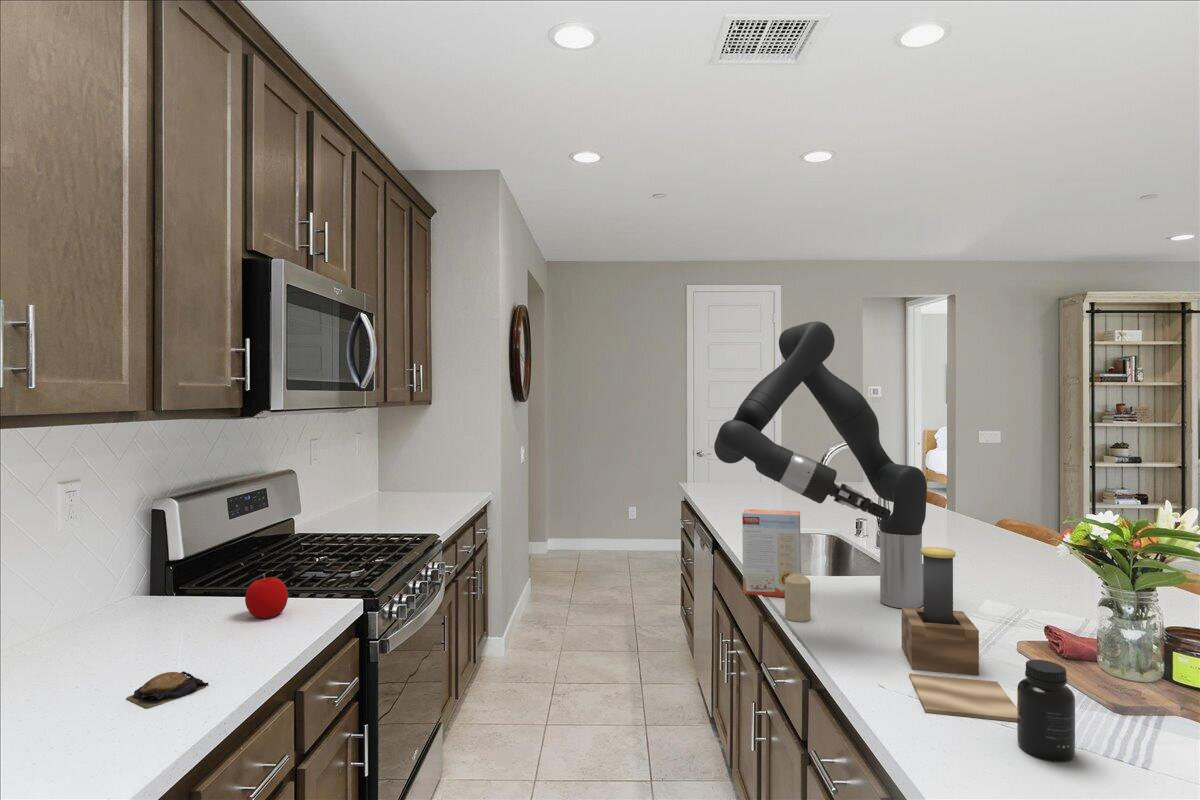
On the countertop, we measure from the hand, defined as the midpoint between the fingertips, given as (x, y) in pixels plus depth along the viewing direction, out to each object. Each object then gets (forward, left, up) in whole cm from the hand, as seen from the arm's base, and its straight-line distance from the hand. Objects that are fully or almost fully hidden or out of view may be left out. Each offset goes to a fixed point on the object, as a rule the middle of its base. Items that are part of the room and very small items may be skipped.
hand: (884, 514), depth 135 cm
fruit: (+118, -66, -27) cm, 138 cm away
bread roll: (+129, -27, -27) cm, 134 cm away
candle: (+5, -21, -27) cm, 34 cm away
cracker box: (0, -39, -27) cm, 47 cm away
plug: (-4, +9, -20) cm, 23 cm away
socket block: (-4, +9, -26) cm, 28 cm away
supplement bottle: (+8, +39, -27) cm, 48 cm away
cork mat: (+5, +23, -26) cm, 35 cm away
